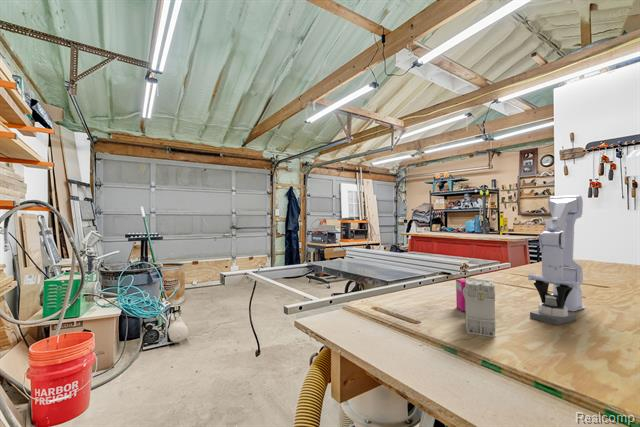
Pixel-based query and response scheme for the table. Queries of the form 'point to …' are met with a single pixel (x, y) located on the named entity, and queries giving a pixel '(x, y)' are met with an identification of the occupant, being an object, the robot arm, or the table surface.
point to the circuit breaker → (480, 307)
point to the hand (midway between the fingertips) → (552, 304)
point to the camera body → (552, 315)
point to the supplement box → (460, 294)
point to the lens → (551, 300)
